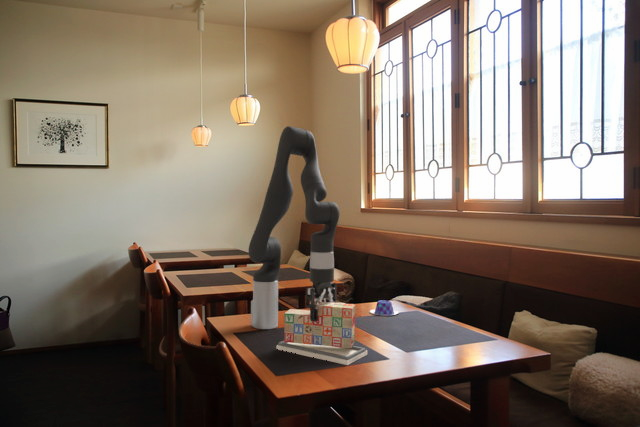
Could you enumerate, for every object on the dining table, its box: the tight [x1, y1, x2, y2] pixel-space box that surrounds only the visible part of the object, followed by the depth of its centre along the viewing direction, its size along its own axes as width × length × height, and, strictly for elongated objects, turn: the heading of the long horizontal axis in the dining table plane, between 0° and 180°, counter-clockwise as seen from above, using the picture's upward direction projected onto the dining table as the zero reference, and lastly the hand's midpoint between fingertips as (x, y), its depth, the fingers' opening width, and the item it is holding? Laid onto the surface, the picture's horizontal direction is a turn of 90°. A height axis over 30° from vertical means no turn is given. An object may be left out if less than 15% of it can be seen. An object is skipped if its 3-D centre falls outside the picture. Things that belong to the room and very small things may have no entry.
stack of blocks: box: [283, 301, 356, 348], centre depth 153 cm, size 21×6×12 cm, turn 77°
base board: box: [276, 340, 369, 366], centre depth 153 cm, size 26×12×2 cm, turn 56°
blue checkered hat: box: [369, 300, 399, 317], centre depth 207 cm, size 12×12×5 cm
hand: (321, 318), depth 153 cm, fingers closed on stack of blocks, 7 cm apart
